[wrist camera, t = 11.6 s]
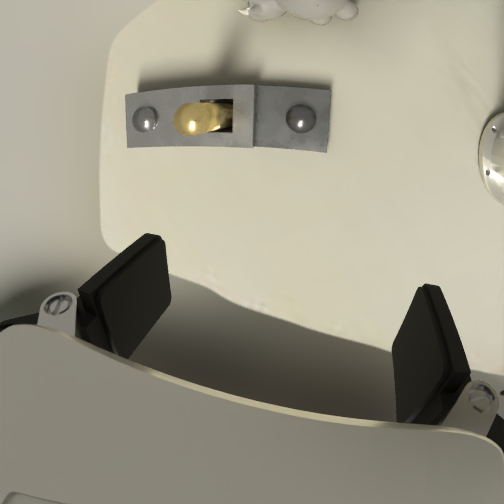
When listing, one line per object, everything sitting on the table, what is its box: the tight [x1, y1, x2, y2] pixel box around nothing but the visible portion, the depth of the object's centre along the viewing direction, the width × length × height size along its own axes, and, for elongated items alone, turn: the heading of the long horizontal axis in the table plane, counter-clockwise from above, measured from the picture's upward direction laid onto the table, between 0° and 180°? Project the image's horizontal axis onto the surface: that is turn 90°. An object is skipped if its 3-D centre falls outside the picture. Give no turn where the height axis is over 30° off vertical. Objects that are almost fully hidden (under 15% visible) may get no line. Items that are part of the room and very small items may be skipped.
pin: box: [173, 103, 233, 136], centre depth 27 cm, size 3×3×10 cm
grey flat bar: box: [125, 85, 331, 153], centre depth 30 cm, size 24×7×3 cm, turn 88°
